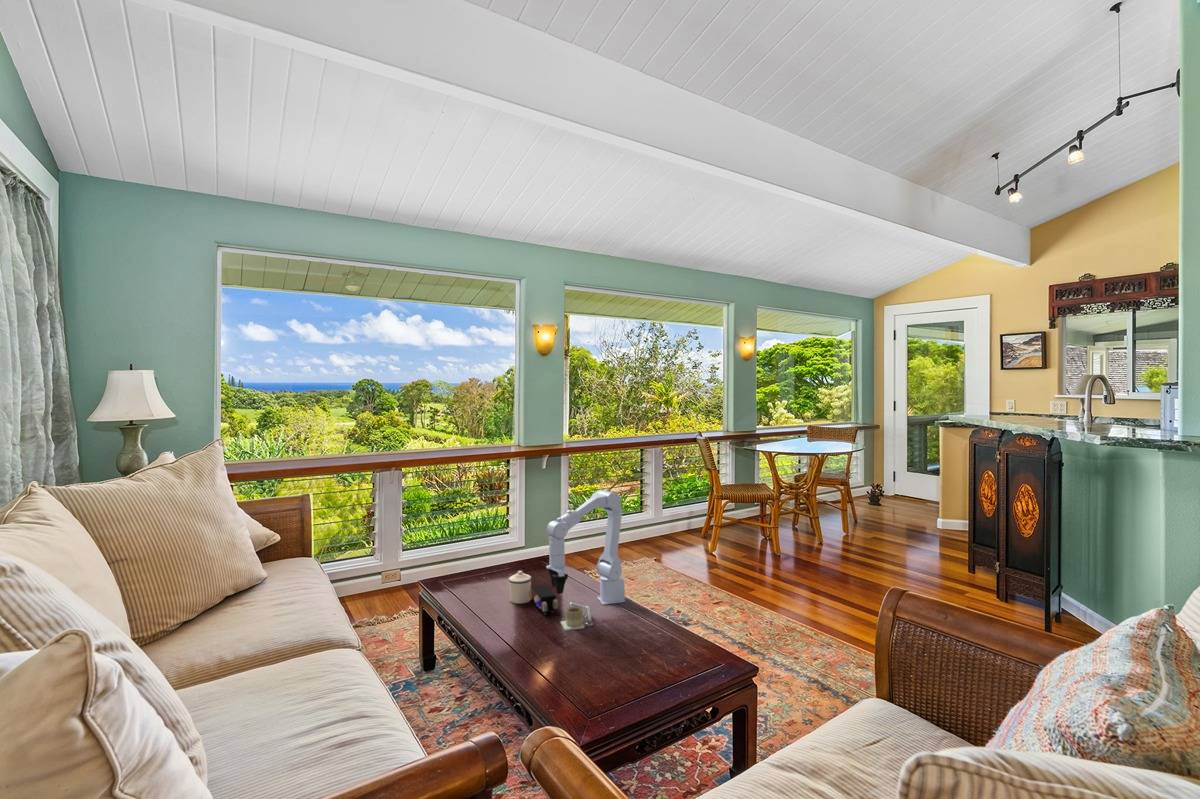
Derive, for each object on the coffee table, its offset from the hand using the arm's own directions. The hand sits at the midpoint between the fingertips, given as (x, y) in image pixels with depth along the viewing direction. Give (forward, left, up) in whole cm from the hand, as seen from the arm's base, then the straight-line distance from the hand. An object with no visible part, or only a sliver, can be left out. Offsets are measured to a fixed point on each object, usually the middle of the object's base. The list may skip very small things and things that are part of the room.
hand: (557, 589), depth 206 cm
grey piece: (-8, +4, -10) cm, 13 cm away
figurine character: (+3, -8, -10) cm, 13 cm away
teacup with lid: (+11, -22, -10) cm, 27 cm away
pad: (-3, +10, -10) cm, 14 cm away
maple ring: (-4, +10, -9) cm, 14 cm away
